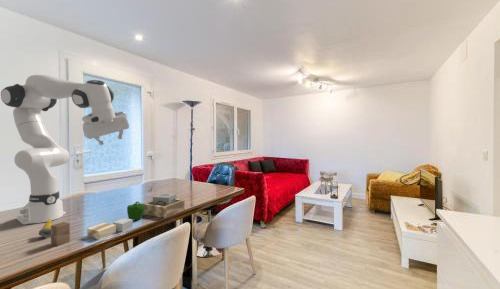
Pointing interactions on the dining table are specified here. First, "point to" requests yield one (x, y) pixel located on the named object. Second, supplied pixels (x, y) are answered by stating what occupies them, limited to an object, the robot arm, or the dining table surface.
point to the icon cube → (164, 199)
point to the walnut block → (60, 233)
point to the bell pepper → (135, 211)
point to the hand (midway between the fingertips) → (111, 141)
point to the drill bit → (46, 230)
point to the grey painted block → (123, 224)
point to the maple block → (101, 230)
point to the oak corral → (163, 208)
